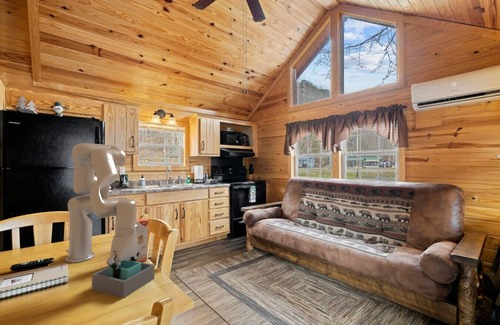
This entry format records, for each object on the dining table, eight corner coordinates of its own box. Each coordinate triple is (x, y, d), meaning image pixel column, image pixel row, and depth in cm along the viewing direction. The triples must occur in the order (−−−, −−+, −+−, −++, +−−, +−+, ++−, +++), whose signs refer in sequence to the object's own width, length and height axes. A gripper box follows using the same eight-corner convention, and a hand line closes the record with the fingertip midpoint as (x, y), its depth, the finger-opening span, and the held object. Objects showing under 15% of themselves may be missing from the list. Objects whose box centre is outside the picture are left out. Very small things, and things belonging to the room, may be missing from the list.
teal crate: (107, 283, 97) (108, 265, 97) (122, 275, 104) (122, 259, 104) (127, 287, 94) (127, 269, 94) (140, 279, 100) (141, 262, 100)
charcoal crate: (91, 289, 94) (92, 274, 94) (125, 272, 109) (125, 259, 109) (123, 298, 89) (124, 281, 89) (154, 278, 104) (154, 264, 104)
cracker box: (116, 268, 113) (117, 223, 113) (113, 264, 117) (114, 221, 117) (147, 261, 121) (148, 219, 122) (144, 257, 126) (145, 217, 126)
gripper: (135, 224, 108) (134, 264, 108) (99, 235, 92) (98, 281, 92) (148, 226, 106) (147, 266, 106) (114, 237, 89) (113, 285, 89)
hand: (124, 273), depth 99 cm, fingers open, 7 cm apart
